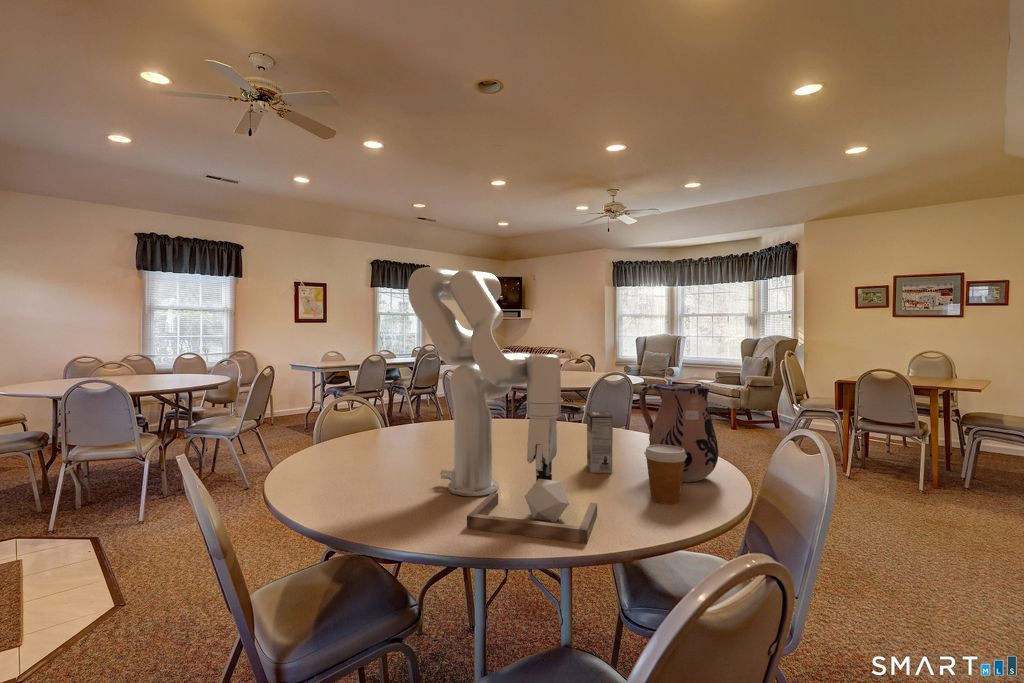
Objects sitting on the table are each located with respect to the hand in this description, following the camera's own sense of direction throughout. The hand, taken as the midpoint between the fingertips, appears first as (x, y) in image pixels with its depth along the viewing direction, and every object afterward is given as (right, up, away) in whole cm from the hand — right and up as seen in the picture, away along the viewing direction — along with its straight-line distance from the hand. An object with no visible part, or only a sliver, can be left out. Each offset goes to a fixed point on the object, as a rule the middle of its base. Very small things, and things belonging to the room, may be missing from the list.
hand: (544, 491), depth 108 cm
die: (0, -4, -6) cm, 7 cm away
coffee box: (+18, -4, +32) cm, 37 cm away
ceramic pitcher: (+38, -4, +24) cm, 45 cm away
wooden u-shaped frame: (-3, -4, -7) cm, 9 cm away
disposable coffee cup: (+29, -4, +6) cm, 30 cm away
